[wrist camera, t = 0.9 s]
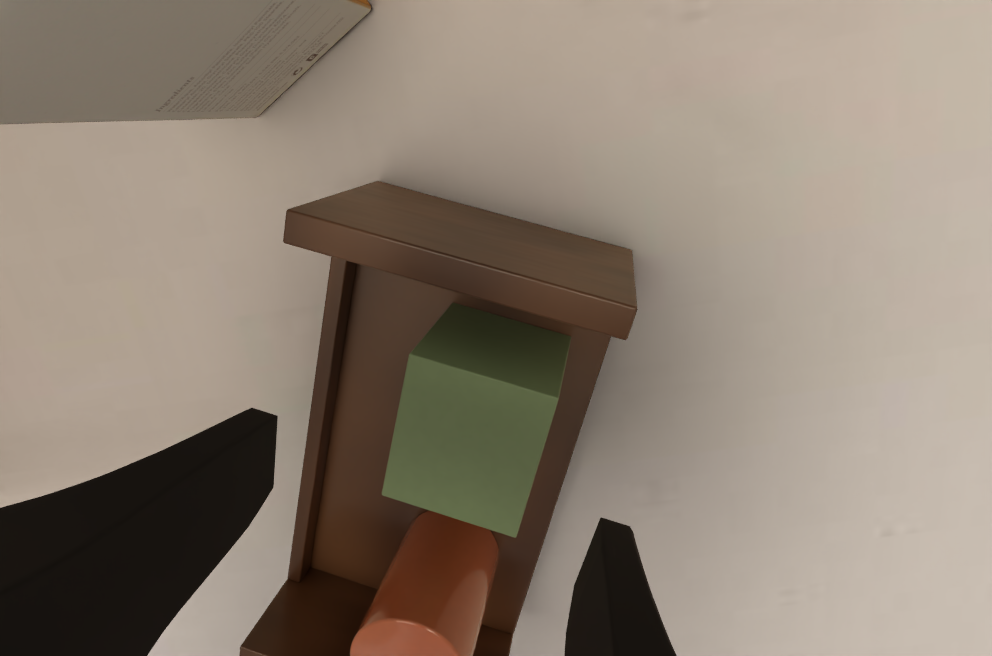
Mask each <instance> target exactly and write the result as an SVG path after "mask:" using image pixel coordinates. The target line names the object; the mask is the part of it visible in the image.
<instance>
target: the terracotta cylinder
mask: <svg viewBox="0 0 992 656" xmlns="http://www.w3.org/2000/svg"><path fill="white" fill-rule="evenodd" d="M498 561H499V549H498V545H497V542H496V540H495V537H494V536H493V534H492V532H491V531H490V530H489V529H486V528H483V527H480V526H477V525H474V524H470V523H467V522H464V521H461V520H458V519H455V518H452V517H449V516H445V515H442V514H439V513H436V512H433V511H430V510H429V511H426V512H424V513H423V514H421V515H419V516H418V517H417V518H416V519H414V520H413V522H412V523H411V524H410V526H409V528H408V530H407V532H406V534H405V536H404V538H403V540H402V542H401V544H400V546H399V548H398V550H397V552H396V554H395V556H394V558H393V560H392V562H391V564H390V566H389V568H388V570H387V572H386V574H385V576H384V578H383V580H382V582H381V584H380V586H379V588H378V590H377V592H376V594H375V596H374V598H373V600H372V602H371V604H370V606H369V608H368V610H367V612H366V614H365V616H364V618H363V620H362V622H361V624H360V626H359V628H358V630H357V632H356V634H355V637H354V639H353V641H352V644H351V647H350V656H474V653H475V649H476V645H477V641H478V638H479V634H480V630H481V626H482V622H483V619H484V615H485V611H486V607H487V603H488V600H489V596H490V592H491V588H492V584H493V581H494V577H495V573H496V569H497V565H498Z"/></svg>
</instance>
